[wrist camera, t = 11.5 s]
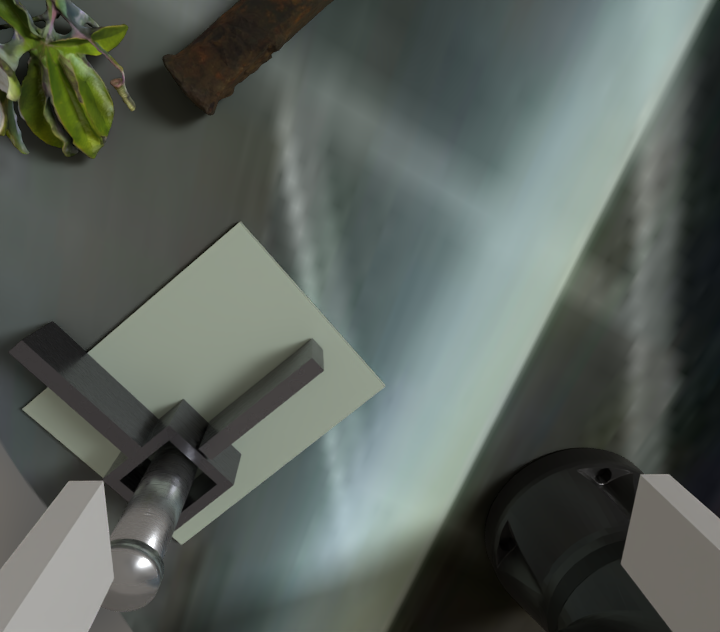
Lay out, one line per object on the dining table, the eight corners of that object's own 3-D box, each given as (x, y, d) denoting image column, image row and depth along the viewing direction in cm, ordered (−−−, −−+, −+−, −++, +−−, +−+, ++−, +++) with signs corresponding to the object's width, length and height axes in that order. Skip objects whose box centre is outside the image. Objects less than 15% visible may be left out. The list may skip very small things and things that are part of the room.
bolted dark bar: (325, 351, 38) (326, 373, 34) (223, 433, 39) (213, 462, 35) (312, 337, 38) (312, 357, 34) (209, 420, 39) (198, 448, 35)
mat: (384, 383, 40) (385, 386, 39) (183, 540, 42) (181, 544, 42) (240, 221, 36) (239, 222, 35) (25, 406, 38) (22, 409, 38)
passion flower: (27, 67, 37) (-180, -104, 25) (163, 13, 35) (4, -198, 23) (26, 207, 33) (-213, 82, 22) (176, 156, 31) (-2, -9, 20)
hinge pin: (217, 452, 40) (174, 583, 27) (181, 481, 40) (121, 623, 28) (182, 418, 39) (120, 539, 26) (145, 448, 39) (66, 581, 27)
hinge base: (241, 454, 40) (233, 485, 36) (182, 501, 41) (168, 536, 37) (78, 298, 36) (50, 314, 32) (15, 354, 36) (-20, 376, 33)
